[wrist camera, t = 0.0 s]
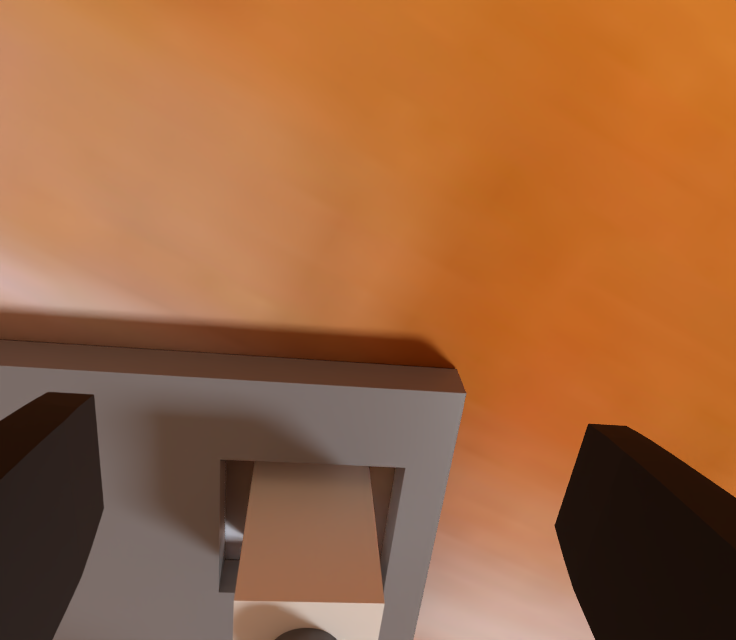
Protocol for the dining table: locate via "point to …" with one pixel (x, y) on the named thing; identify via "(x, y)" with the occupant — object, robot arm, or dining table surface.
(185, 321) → the dining table surface
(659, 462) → the robot arm
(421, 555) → the grey board with holes
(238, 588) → the plug
